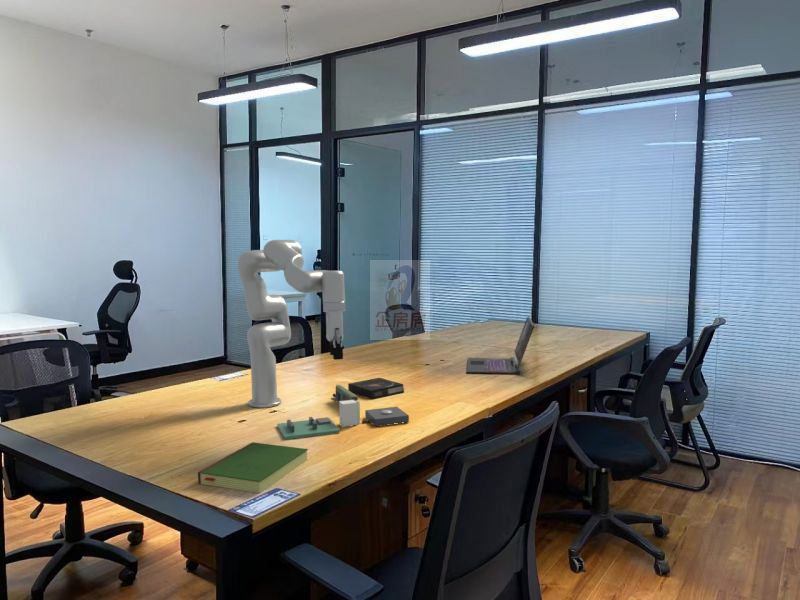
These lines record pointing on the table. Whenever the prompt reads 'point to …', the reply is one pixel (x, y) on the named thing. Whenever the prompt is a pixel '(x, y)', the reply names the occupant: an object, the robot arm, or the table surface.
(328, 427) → the board
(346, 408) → the plug
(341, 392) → the handheld radio
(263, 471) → the hardcover book
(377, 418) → the gray dome slab
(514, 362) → the laptop
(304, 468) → the table surface
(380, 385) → the portable cd player
